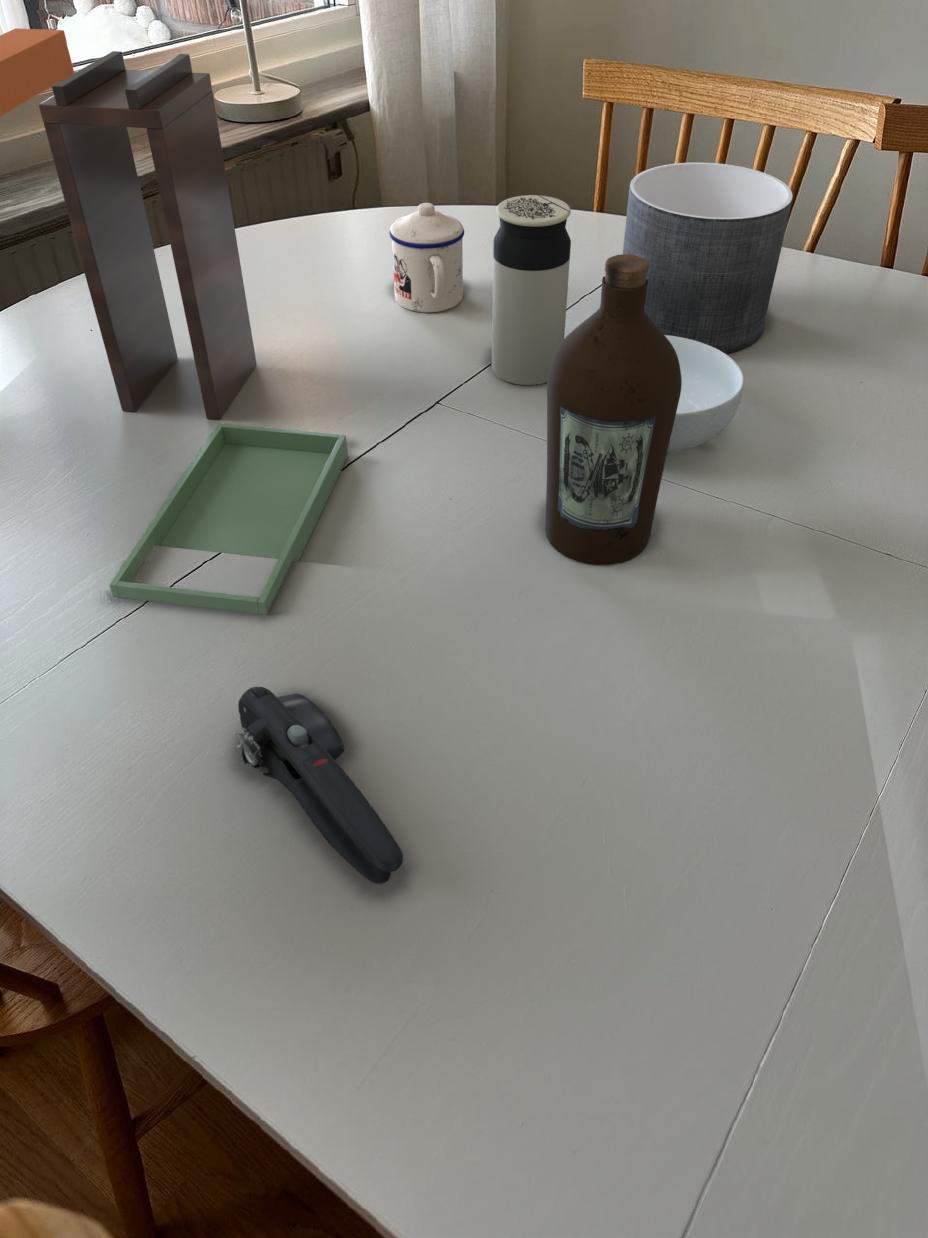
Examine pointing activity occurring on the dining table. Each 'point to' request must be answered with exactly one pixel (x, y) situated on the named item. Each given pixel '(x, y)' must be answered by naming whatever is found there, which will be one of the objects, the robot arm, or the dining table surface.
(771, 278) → the planter
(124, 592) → the tray
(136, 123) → the tall brown stand
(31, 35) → the orange rectangular bar
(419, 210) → the teacup with lid
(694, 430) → the cereal bowl
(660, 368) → the olive oil
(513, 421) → the dining table surface
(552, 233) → the travel mug
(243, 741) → the can opener
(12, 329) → the dining table surface
